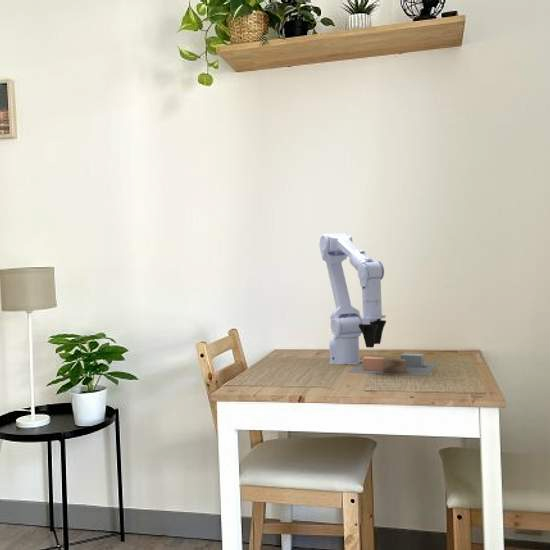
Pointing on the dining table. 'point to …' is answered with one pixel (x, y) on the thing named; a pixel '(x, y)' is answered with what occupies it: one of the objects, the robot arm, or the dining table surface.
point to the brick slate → (413, 360)
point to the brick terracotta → (373, 363)
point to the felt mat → (409, 371)
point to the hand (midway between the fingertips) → (373, 345)
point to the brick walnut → (394, 366)
